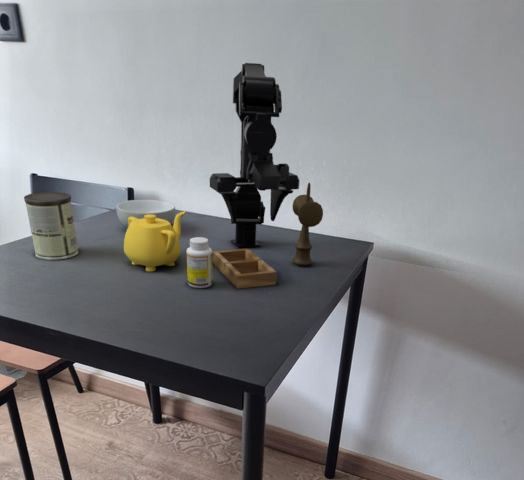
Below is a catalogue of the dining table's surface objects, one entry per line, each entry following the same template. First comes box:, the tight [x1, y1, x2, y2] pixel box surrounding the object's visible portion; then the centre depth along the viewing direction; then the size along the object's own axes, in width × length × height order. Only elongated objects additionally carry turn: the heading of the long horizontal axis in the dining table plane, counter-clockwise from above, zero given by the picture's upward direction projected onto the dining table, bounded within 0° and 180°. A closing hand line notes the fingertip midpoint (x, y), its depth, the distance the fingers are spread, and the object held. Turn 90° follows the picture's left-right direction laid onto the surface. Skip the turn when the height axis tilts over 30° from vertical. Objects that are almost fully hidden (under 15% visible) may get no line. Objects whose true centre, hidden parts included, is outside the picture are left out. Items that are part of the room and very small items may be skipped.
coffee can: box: [23, 191, 80, 261], centre depth 118 cm, size 10×10×14 cm
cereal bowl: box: [115, 199, 176, 228], centre depth 142 cm, size 17×17×7 cm
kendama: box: [292, 182, 324, 267], centre depth 119 cm, size 6×10×20 cm, turn 8°
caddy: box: [212, 248, 278, 290], centre depth 115 cm, size 18×9×3 cm, turn 23°
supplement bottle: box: [186, 236, 214, 289], centre depth 106 cm, size 6×6×10 cm
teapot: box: [123, 210, 186, 272], centre depth 116 cm, size 14×14×12 cm
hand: (253, 221), depth 107 cm, fingers open, 9 cm apart
